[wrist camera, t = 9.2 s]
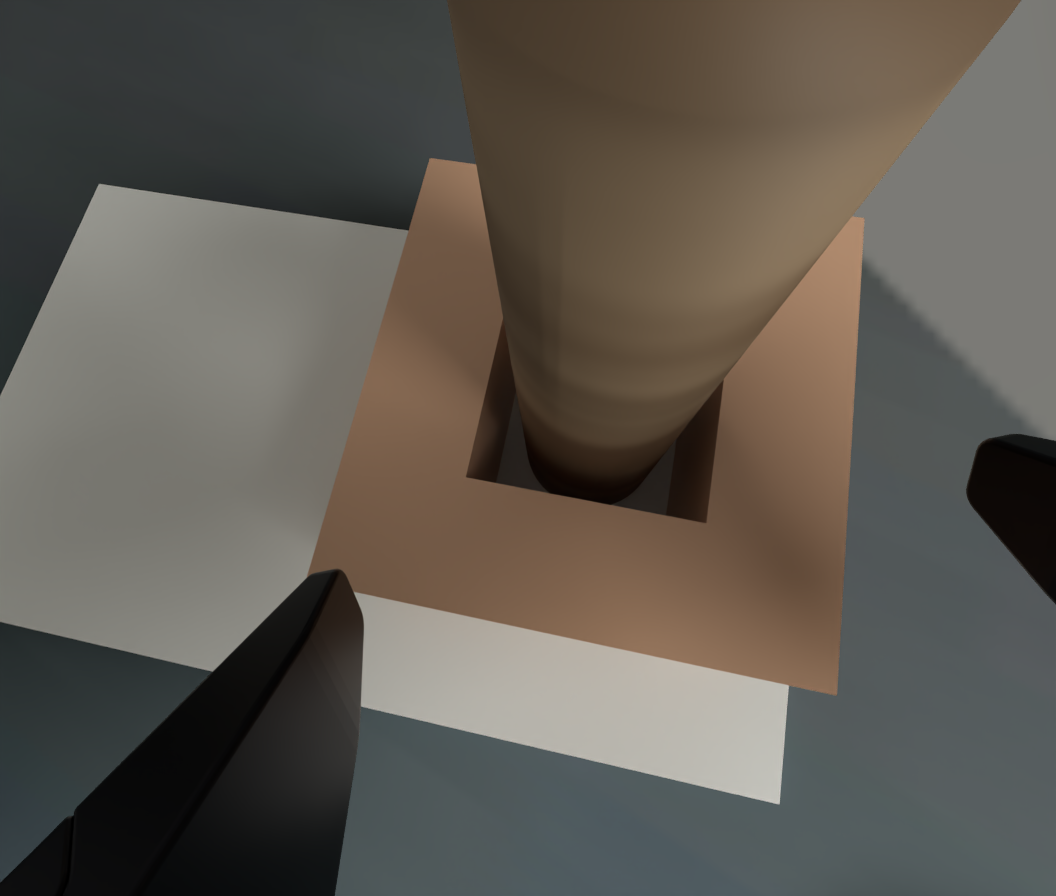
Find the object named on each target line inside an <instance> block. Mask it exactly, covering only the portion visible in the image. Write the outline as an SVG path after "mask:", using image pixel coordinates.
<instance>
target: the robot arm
mask: <svg viewBox="0 0 1056 896" xmlns="http://www.w3.org/2000/svg"><path fill="white" fill-rule="evenodd" d="M966 494H967V498H968V500H969V502H970V504H971V506H972V507H973V508H974V510H975V511H976V512H977V513H978V514H979V516H980V517H981V518H982V519H983V520H984V522H985V523H986V524H987V525H988V526H989V528H990V529H991V530H992V531H993V532H994V533H995V535H996V536H997V537H998V538H999V539H1000V541H1001V542H1002V543H1003V544H1004V545H1005V547H1006V548H1007V549H1008V550H1009V551H1010V553H1011V554H1012V555H1013V556H1014V557H1015V559H1016V560H1017V561H1018V562H1019V563H1020V564H1021V566H1022V567H1023V568H1024V569H1025V570H1026V572H1027V573H1028V574H1029V575H1030V576H1031V578H1032V579H1033V580H1034V581H1035V582H1036V583H1037V584H1038V586H1039V587H1040V588H1041V589H1042V590H1043V591H1044V592H1045V594H1046V595H1047V596H1048V597H1049V598H1050V599H1051V600H1052V601H1053V602H1054V603H1055V604H1056V441H1054V440H1049V439H1043V438H1038V437H1033V436H1028V435H1023V434H1009V435H1004V436H999V437H994V438H989V439H986V440H984V441H983V442H982V443H981V444H980V445H979V446H978V448H977V450H976V454H975V457H974V461H973V465H972V469H971V472H970V476H969V480H968V483H967V488H966ZM363 642H364V619H363V614H362V611H361V608H360V606H359V603H358V601H357V599H356V597H355V594H354V592H353V590H352V587H351V585H350V583H349V580H348V578H347V576H346V574H345V573H344V572H343V571H342V570H340V569H331V570H326V571H321V572H316V573H313V574H311V575H309V576H308V577H307V578H306V579H305V580H304V581H303V582H302V583H301V584H300V585H299V586H298V587H297V588H296V589H295V590H294V591H293V592H292V593H291V594H290V595H289V596H288V597H287V598H286V599H285V600H284V601H283V602H282V603H281V604H280V605H279V606H278V607H277V608H276V609H275V610H274V611H273V612H272V613H271V614H270V615H269V616H268V617H267V618H266V619H265V620H264V621H263V622H262V623H261V624H260V625H259V626H258V627H257V628H256V629H255V630H254V631H253V632H252V633H251V634H250V635H249V636H248V637H247V638H246V639H245V640H244V641H243V642H242V643H241V644H240V645H239V646H238V647H237V648H236V649H235V650H234V651H233V652H232V653H231V654H230V655H229V656H228V657H227V658H226V659H225V660H224V661H223V662H222V663H221V664H220V665H219V666H218V667H217V668H216V669H215V670H214V671H213V672H212V673H211V674H210V675H209V676H208V677H207V678H206V679H205V680H204V681H203V682H202V683H201V684H200V685H199V686H198V687H197V688H196V689H195V690H194V691H193V692H192V693H191V694H190V695H189V696H188V697H187V698H186V699H185V700H184V701H183V702H182V703H181V704H180V705H179V706H178V707H177V708H176V709H175V710H174V711H173V712H172V713H171V714H170V715H169V716H168V717H167V718H166V719H165V720H164V721H163V722H162V723H161V724H160V725H159V726H158V727H157V728H156V729H155V730H154V731H153V732H152V733H151V734H150V735H149V736H148V737H147V738H146V739H145V740H144V741H143V742H142V743H141V744H140V745H139V746H138V747H137V748H136V749H135V750H134V751H133V752H132V753H131V754H130V755H129V756H128V757H127V758H126V759H125V760H124V761H123V762H122V763H121V764H120V765H119V766H118V767H117V768H116V769H115V770H114V771H113V772H112V773H111V774H110V775H109V776H108V777H107V778H106V779H105V780H104V781H103V782H102V783H101V784H99V785H98V786H97V787H96V788H95V789H94V790H93V791H92V792H91V793H90V794H89V795H88V796H87V797H86V798H85V799H84V800H83V801H82V802H81V803H80V804H79V805H78V806H77V808H76V809H75V811H74V816H68V817H67V818H65V819H64V820H63V821H62V822H61V823H60V824H59V825H58V826H57V827H56V828H55V829H54V830H53V831H52V832H51V833H50V834H49V835H48V836H47V837H46V838H45V839H44V840H43V841H42V842H41V843H40V844H39V845H38V846H37V847H36V848H35V849H34V850H33V851H32V852H31V853H30V854H29V855H28V856H27V857H26V858H25V859H24V860H23V861H22V862H21V863H20V864H19V865H18V866H17V867H16V868H15V869H14V870H13V871H12V872H11V873H10V874H9V875H8V876H7V877H6V878H5V879H4V880H2V881H1V882H0V896H335V890H336V884H337V877H338V871H339V865H340V858H341V852H342V845H343V839H344V832H345V826H346V819H347V813H348V806H349V800H350V793H351V787H352V780H353V774H354V768H355V761H356V755H357V747H358V739H359V730H360V714H361V690H362V666H363Z"/></svg>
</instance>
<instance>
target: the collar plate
mask: <svg viewBox="0 0 1056 896" xmlns="http://www.w3.org/2000/svg"><path fill="white" fill-rule="evenodd" d="M863 234H864V218H859V217H851V218H850V219H849V221H848V222H847V223H846V224H845V226H844V227H843V228H842V230H841V231H840V232H839V233H838V235H837V236H836V237H835V238H834V240H833V241H832V242H831V244H830V245H829V246H828V247H827V249H826V250H825V251H824V252H823V254H822V255H821V256H820V257H819V259H818V260H817V261H816V263H815V264H814V265H813V266H812V268H811V269H810V270H809V271H808V273H807V274H806V275H805V277H804V278H803V279H802V280H801V282H800V283H799V284H798V285H797V287H796V288H795V289H794V290H793V292H792V293H791V294H790V296H789V297H788V298H787V299H786V301H785V302H784V303H783V304H782V306H781V307H780V308H779V309H778V311H777V312H776V313H775V315H774V316H773V317H772V318H771V320H770V321H769V322H768V323H767V325H766V326H765V327H764V329H763V330H762V331H761V332H760V334H759V335H758V336H757V337H756V339H755V340H754V341H753V342H752V344H751V345H750V346H749V348H748V349H747V350H746V351H745V353H744V354H743V355H742V356H741V358H740V359H739V360H738V361H737V363H736V364H735V365H734V367H733V368H732V369H731V370H730V372H729V373H728V374H727V375H726V377H725V378H724V379H723V381H722V382H721V383H720V384H719V386H718V387H717V388H716V389H715V391H714V392H713V393H712V394H711V396H710V397H709V398H708V400H707V401H706V402H705V403H704V405H703V406H702V407H701V408H700V410H699V411H698V412H697V414H696V415H695V416H694V417H693V419H692V420H691V421H690V422H689V424H688V425H687V426H686V427H685V429H684V430H683V431H682V433H681V434H680V435H679V436H678V438H677V439H676V440H675V441H674V443H673V444H672V445H671V446H670V448H669V449H668V450H667V452H666V453H665V454H664V455H663V457H662V458H661V459H660V460H659V462H658V463H657V464H656V466H655V467H654V468H653V469H652V471H651V472H650V473H649V474H648V476H647V477H646V478H645V479H644V481H643V482H642V483H641V485H640V486H639V487H638V488H637V489H636V490H635V491H634V492H633V493H632V494H630V495H629V496H628V497H626V498H625V499H623V500H621V501H619V502H617V503H615V504H612V505H608V504H602V503H597V502H592V501H587V500H582V499H576V498H571V497H566V496H561V495H555V494H550V493H549V492H548V491H547V490H545V489H544V488H543V487H542V485H541V484H540V483H539V482H538V480H537V479H536V477H535V475H534V474H533V471H532V469H531V467H530V464H529V460H528V455H527V450H526V444H525V438H524V433H523V427H522V421H521V416H520V410H519V404H518V399H517V393H516V387H515V382H514V376H513V370H512V365H511V359H510V353H509V348H508V342H507V336H506V331H505V325H504V319H503V314H502V308H501V302H500V297H499V291H498V285H497V280H496V274H495V268H494V263H493V257H492V251H491V246H490V240H489V234H488V229H487V223H486V217H485V212H484V206H483V200H482V195H481V189H480V183H479V178H478V172H477V166H476V164H469V163H462V162H454V161H447V160H440V159H433V158H430V160H429V163H428V166H427V170H426V173H425V177H424V180H423V183H422V187H421V190H420V194H419V197H418V200H417V204H416V207H415V211H414V214H413V217H412V221H411V224H410V228H409V231H407V230H401V229H394V228H387V227H381V226H374V225H368V224H361V223H354V222H348V221H341V220H335V219H328V218H321V217H315V216H308V215H301V214H295V213H288V212H282V211H275V210H268V209H262V208H255V207H248V206H242V205H235V204H229V203H222V202H215V201H209V200H202V199H196V198H189V197H182V196H176V195H169V194H162V193H156V192H149V191H143V190H136V189H129V188H123V187H116V186H110V185H103V184H99V185H98V187H97V189H96V192H95V194H94V196H93V198H92V200H91V202H90V204H89V207H88V209H87V211H86V213H85V215H84V217H83V220H82V222H81V224H80V226H79V228H78V230H77V232H76V235H75V237H74V239H73V241H72V243H71V245H70V247H69V250H68V252H67V254H66V256H65V258H64V260H63V262H62V265H61V267H60V269H59V271H58V273H57V275H56V277H55V280H54V282H53V284H52V286H51V288H50V290H49V292H48V295H47V297H46V299H45V301H44V303H43V305H42V307H41V310H40V312H39V314H38V316H37V318H36V320H35V322H34V325H33V327H32V329H31V331H30V333H29V335H28V337H27V340H26V342H25V344H24V346H23V348H22V350H21V352H20V355H19V357H18V359H17V361H16V363H15V365H14V367H13V370H12V372H11V374H10V376H9V378H8V380H7V383H6V385H5V387H4V389H3V391H2V393H1V395H0V622H3V623H7V624H12V625H16V626H20V627H24V628H29V629H33V630H37V631H41V632H46V633H50V634H54V635H59V636H63V637H67V638H71V639H76V640H80V641H84V642H88V643H93V644H97V645H101V646H105V647H110V648H114V649H118V650H123V651H127V652H131V653H135V654H140V655H144V656H148V657H152V658H157V659H161V660H165V661H169V662H174V663H178V664H182V665H187V666H191V667H195V668H199V669H204V670H208V671H212V672H213V671H214V670H215V669H216V668H217V667H218V666H219V665H220V664H221V663H222V662H223V661H224V660H225V659H226V658H227V657H228V656H229V655H230V654H231V653H232V652H233V651H234V650H235V649H236V648H237V647H238V646H239V645H240V644H241V643H242V642H243V641H244V640H245V639H246V638H247V637H248V636H249V635H250V634H251V633H252V632H253V631H254V630H255V629H256V628H257V627H258V626H259V625H260V624H261V623H262V622H263V621H264V620H265V619H266V618H267V617H268V616H269V615H270V614H271V613H272V612H273V611H274V610H275V609H276V608H277V607H278V606H279V605H280V604H281V603H282V602H283V601H284V600H285V599H286V598H287V597H288V596H289V595H290V594H291V593H292V592H293V591H294V590H295V589H296V588H297V587H298V586H299V585H300V584H301V583H302V582H303V581H304V580H305V579H306V578H307V577H308V576H309V575H311V574H313V573H316V572H321V571H326V570H331V569H340V570H342V571H343V572H344V573H345V574H346V576H347V578H348V580H349V583H350V585H351V587H352V590H353V592H354V594H355V597H356V599H357V601H358V603H359V606H360V608H361V611H362V614H363V619H364V642H363V666H362V690H361V707H366V708H370V709H374V710H378V711H383V712H387V713H391V714H396V715H400V716H404V717H408V718H413V719H417V720H421V721H425V722H430V723H434V724H438V725H442V726H447V727H451V728H455V729H460V730H464V731H468V732H472V733H477V734H481V735H485V736H489V737H494V738H498V739H502V740H506V741H511V742H515V743H519V744H524V745H528V746H532V747H536V748H541V749H545V750H549V751H553V752H558V753H562V754H566V755H570V756H575V757H579V758H583V759H587V760H592V761H596V762H600V763H605V764H609V765H613V766H617V767H622V768H626V769H630V770H634V771H639V772H643V773H647V774H651V775H656V776H660V777H664V778H669V779H673V780H677V781H681V782H686V783H690V784H694V785H698V786H703V787H707V788H711V789H715V790H720V791H724V792H728V793H733V794H737V795H741V796H745V797H750V798H754V799H758V800H762V801H767V802H771V803H775V804H779V803H780V790H781V777H782V764H783V752H784V739H785V726H786V713H787V700H788V688H789V686H794V687H799V688H803V689H808V690H813V691H817V692H822V693H827V694H831V695H836V696H837V684H838V667H839V649H840V632H841V615H842V597H843V580H844V563H845V545H846V528H847V511H848V493H849V476H850V459H851V442H852V424H853V407H854V390H855V372H856V355H857V338H858V320H859V303H860V286H861V268H862V251H863Z"/></svg>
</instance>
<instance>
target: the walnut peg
mask: <svg viewBox="0 0 1056 896" xmlns="http://www.w3.org/2000/svg"><path fill="white" fill-rule="evenodd" d="M1020 1H1021V0H447V2H448V7H449V13H450V19H451V24H452V30H453V36H454V42H455V47H456V53H457V59H458V64H459V70H460V76H461V81H462V87H463V93H464V98H465V104H466V110H467V115H468V121H469V127H470V132H471V138H472V144H473V149H474V155H475V161H476V166H477V172H478V178H479V183H480V189H481V195H482V200H483V206H484V212H485V217H486V223H487V229H488V234H489V240H490V246H491V251H492V257H493V263H494V268H495V274H496V280H497V285H498V291H499V297H500V302H501V308H502V314H503V319H504V325H505V331H506V336H507V342H508V348H509V353H510V359H511V365H512V370H513V376H514V382H515V387H516V393H517V399H518V404H519V410H520V416H521V421H522V427H523V433H524V438H525V444H526V450H527V455H528V460H529V464H530V467H531V469H532V471H533V474H534V475H535V477H536V479H537V480H538V482H539V483H540V484H541V485H542V487H543V488H544V489H545V490H547V491H548V492H549V493H550V494H555V495H561V496H566V497H571V498H576V499H582V500H587V501H592V502H597V503H602V504H608V505H612V504H615V503H617V502H619V501H621V500H623V499H625V498H626V497H628V496H629V495H630V494H632V493H633V492H634V491H635V490H636V489H637V488H638V487H639V486H640V485H641V483H642V482H643V481H644V479H645V478H646V477H647V476H648V474H649V473H650V472H651V471H652V469H653V468H654V467H655V466H656V464H657V463H658V462H659V460H660V459H661V458H662V457H663V455H664V454H665V453H666V452H667V450H668V449H669V448H670V446H671V445H672V444H673V443H674V441H675V440H676V439H677V438H678V436H679V435H680V434H681V433H682V431H683V430H684V429H685V427H686V426H687V425H688V424H689V422H690V421H691V420H692V419H693V417H694V416H695V415H696V414H697V412H698V411H699V410H700V408H701V407H702V406H703V405H704V403H705V402H706V401H707V400H708V398H709V397H710V396H711V394H712V393H713V392H714V391H715V389H716V388H717V387H718V386H719V384H720V383H721V382H722V381H723V379H724V378H725V377H726V375H727V374H728V373H729V372H730V370H731V369H732V368H733V367H734V365H735V364H736V363H737V361H738V360H739V359H740V358H741V356H742V355H743V354H744V353H745V351H746V350H747V349H748V348H749V346H750V345H751V344H752V342H753V341H754V340H755V339H756V337H757V336H758V335H759V334H760V332H761V331H762V330H763V329H764V327H765V326H766V325H767V323H768V322H769V321H770V320H771V318H772V317H773V316H774V315H775V313H776V312H777V311H778V309H779V308H780V307H781V306H782V304H783V303H784V302H785V301H786V299H787V298H788V297H789V296H790V294H791V293H792V292H793V290H794V289H795V288H796V287H797V285H798V284H799V283H800V282H801V280H802V279H803V278H804V277H805V275H806V274H807V273H808V271H809V270H810V269H811V268H812V266H813V265H814V264H815V263H816V261H817V260H818V259H819V257H820V256H821V255H822V254H823V252H824V251H825V250H826V249H827V247H828V246H829V245H830V244H831V242H832V241H833V240H834V238H835V237H836V236H837V235H838V233H839V232H840V231H841V230H842V228H843V227H844V226H845V224H846V223H847V222H848V221H849V219H850V218H851V217H852V215H853V214H854V213H855V212H856V210H857V209H858V208H859V207H860V205H861V204H862V203H863V202H864V200H865V199H866V198H867V197H868V195H869V194H870V193H871V192H872V190H873V189H874V188H875V186H876V185H877V184H878V183H879V181H880V180H881V179H882V178H883V176H884V175H885V174H886V172H887V171H888V170H889V169H890V167H891V166H892V165H893V164H894V162H895V161H896V160H897V158H898V157H899V156H900V154H901V153H902V152H903V151H904V150H905V148H906V147H907V145H909V143H910V142H911V141H912V139H913V138H914V137H915V136H916V134H917V133H918V132H919V131H920V129H921V128H922V127H923V125H924V124H925V123H926V122H927V120H928V119H929V118H930V117H931V115H932V114H933V113H934V112H935V110H936V109H937V108H938V106H939V105H940V104H941V103H942V101H943V100H944V99H945V97H946V96H947V95H948V93H950V91H951V90H952V89H953V87H954V86H955V85H956V84H957V82H958V81H959V80H960V78H961V77H962V76H963V75H964V73H965V72H966V71H967V70H968V68H969V67H970V66H971V65H972V63H973V62H974V61H975V60H976V58H977V57H978V56H979V54H980V53H981V52H982V51H983V49H984V48H985V47H986V46H987V44H988V43H989V42H990V40H991V39H992V38H993V36H994V35H995V34H996V33H997V32H998V30H999V29H1000V28H1001V27H1002V25H1003V24H1004V23H1005V21H1006V20H1007V19H1008V18H1009V16H1010V15H1011V14H1012V12H1013V11H1014V10H1015V8H1016V7H1017V5H1018V4H1019V3H1020Z"/></svg>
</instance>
